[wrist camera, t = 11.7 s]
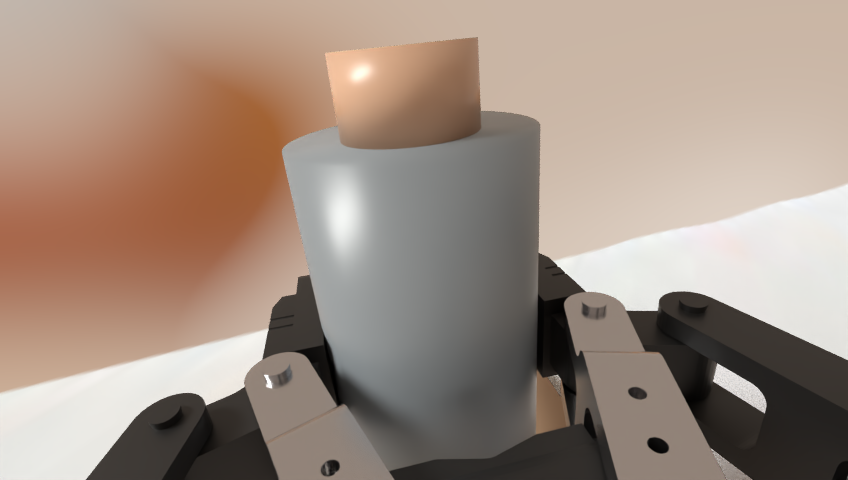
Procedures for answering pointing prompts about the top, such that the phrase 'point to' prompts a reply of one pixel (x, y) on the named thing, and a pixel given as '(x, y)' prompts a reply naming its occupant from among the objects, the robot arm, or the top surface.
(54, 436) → the top surface
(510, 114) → the slate bottle
